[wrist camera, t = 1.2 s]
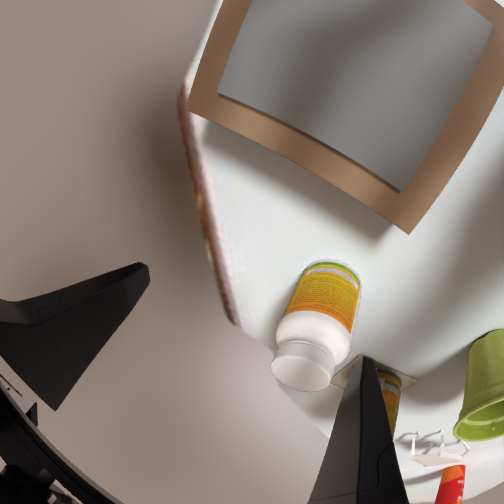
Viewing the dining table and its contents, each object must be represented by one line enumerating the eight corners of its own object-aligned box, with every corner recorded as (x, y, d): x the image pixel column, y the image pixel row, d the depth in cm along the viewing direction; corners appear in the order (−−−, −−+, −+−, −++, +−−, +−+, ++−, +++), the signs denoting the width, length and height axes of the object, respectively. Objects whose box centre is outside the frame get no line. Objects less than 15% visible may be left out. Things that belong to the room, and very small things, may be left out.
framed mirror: (504, 36, 7) (528, 27, 4) (404, 210, 18) (409, 237, 15) (288, -67, 9) (268, -90, 6) (214, 104, 19) (182, 110, 16)
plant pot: (509, 372, 19) (515, 436, 12) (443, 376, 23) (440, 445, 17) (540, 313, 15) (562, 385, 8) (466, 316, 19) (475, 399, 13)
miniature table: (405, 445, 34) (400, 469, 30) (414, 427, 30) (410, 455, 27) (465, 442, 28) (463, 466, 25) (482, 423, 25) (481, 450, 21)
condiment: (381, 403, 30) (360, 485, 21) (328, 380, 31) (296, 467, 22) (417, 378, 25) (403, 476, 16) (360, 352, 27) (331, 457, 18)
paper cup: (464, 470, 34) (454, 520, 23) (436, 473, 38) (424, 523, 27) (473, 461, 31) (464, 517, 20) (443, 465, 35) (431, 521, 24)
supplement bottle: (296, 257, 24) (249, 344, 16) (359, 255, 21) (338, 352, 14) (307, 306, 26) (270, 391, 19) (364, 307, 23) (343, 401, 16)
